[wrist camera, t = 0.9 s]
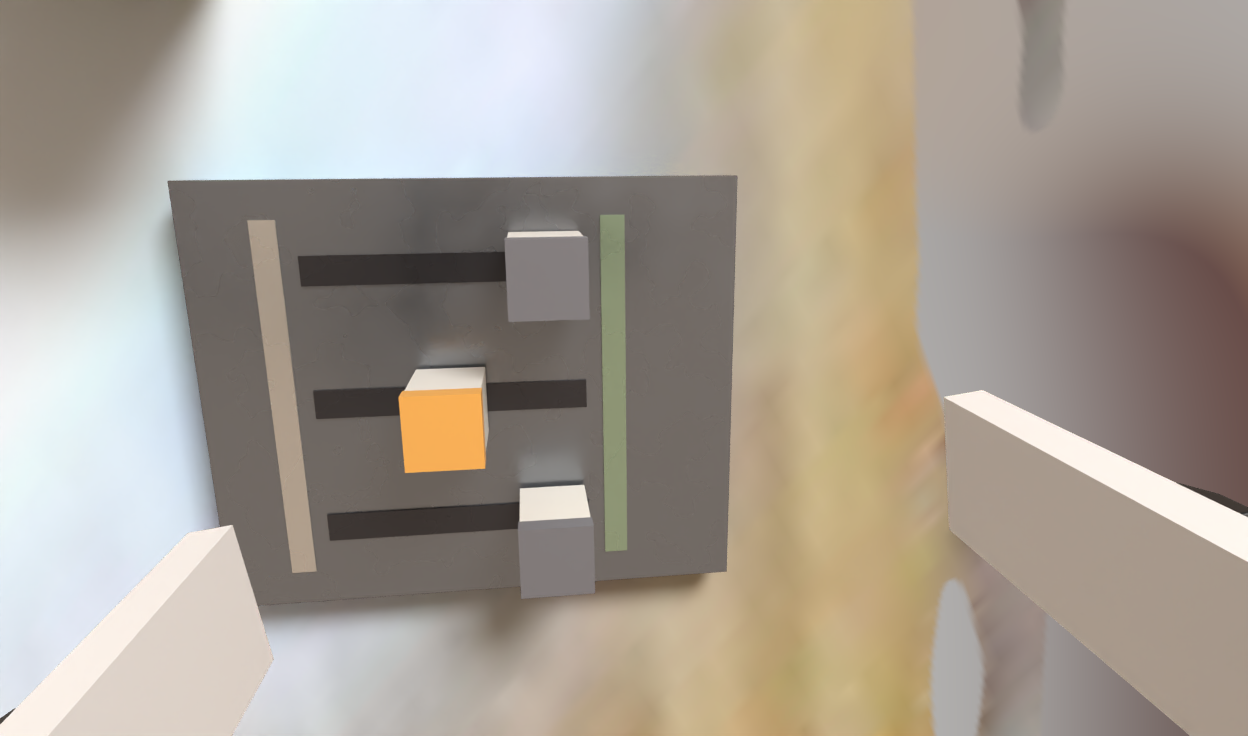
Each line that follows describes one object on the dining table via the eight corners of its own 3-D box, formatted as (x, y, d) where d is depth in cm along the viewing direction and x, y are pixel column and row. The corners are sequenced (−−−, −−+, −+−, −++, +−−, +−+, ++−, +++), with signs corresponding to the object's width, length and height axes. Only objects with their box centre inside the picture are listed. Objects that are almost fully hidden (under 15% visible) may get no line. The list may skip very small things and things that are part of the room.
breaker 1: (510, 302, 31) (508, 322, 27) (507, 230, 30) (504, 239, 26) (581, 300, 32) (589, 319, 28) (579, 229, 31) (588, 237, 27)
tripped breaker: (419, 435, 32) (405, 472, 28) (414, 368, 31) (398, 397, 27) (490, 431, 32) (485, 468, 28) (486, 365, 32) (480, 393, 28)
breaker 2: (521, 548, 34) (521, 598, 30) (518, 487, 33) (518, 530, 29) (586, 543, 34) (595, 593, 30) (585, 483, 34) (593, 526, 30)
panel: (248, 583, 35) (231, 608, 33) (189, 180, 31) (166, 180, 29) (716, 551, 38) (727, 572, 36) (725, 175, 33) (738, 175, 31)
